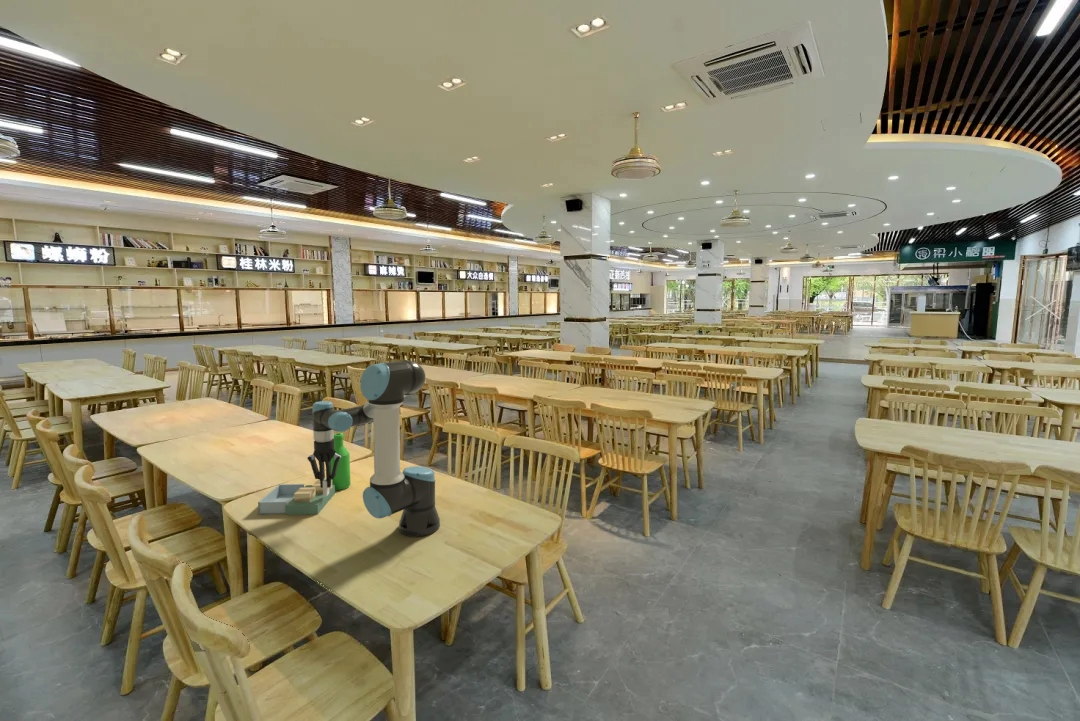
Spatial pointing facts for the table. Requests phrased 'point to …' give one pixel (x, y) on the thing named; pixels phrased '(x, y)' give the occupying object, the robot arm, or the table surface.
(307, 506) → the board
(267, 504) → the tray
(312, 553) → the table surface
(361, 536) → the table surface
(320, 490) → the wooden block stack
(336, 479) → the bottle
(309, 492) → the tile
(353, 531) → the table surface
